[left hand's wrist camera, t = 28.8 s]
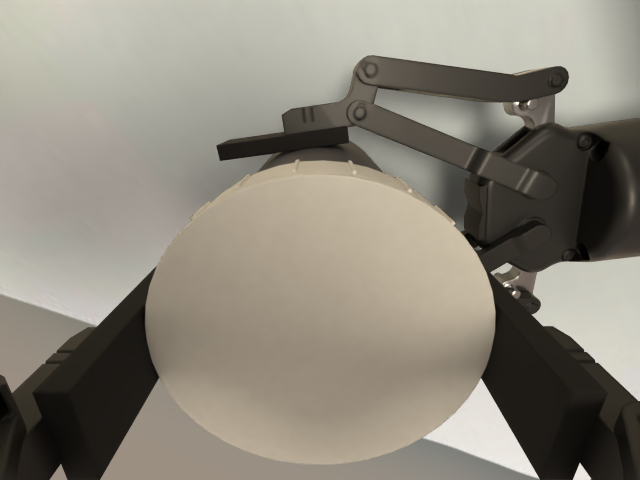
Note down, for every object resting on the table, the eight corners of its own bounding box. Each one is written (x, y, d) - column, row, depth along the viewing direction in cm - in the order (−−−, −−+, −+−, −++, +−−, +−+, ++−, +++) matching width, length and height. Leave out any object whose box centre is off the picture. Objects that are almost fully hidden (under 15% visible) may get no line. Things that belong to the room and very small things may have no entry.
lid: (129, 346, 13) (93, 392, 11) (256, 86, 10) (239, 82, 8) (360, 447, 15) (366, 501, 13) (531, 261, 12) (576, 294, 10)
